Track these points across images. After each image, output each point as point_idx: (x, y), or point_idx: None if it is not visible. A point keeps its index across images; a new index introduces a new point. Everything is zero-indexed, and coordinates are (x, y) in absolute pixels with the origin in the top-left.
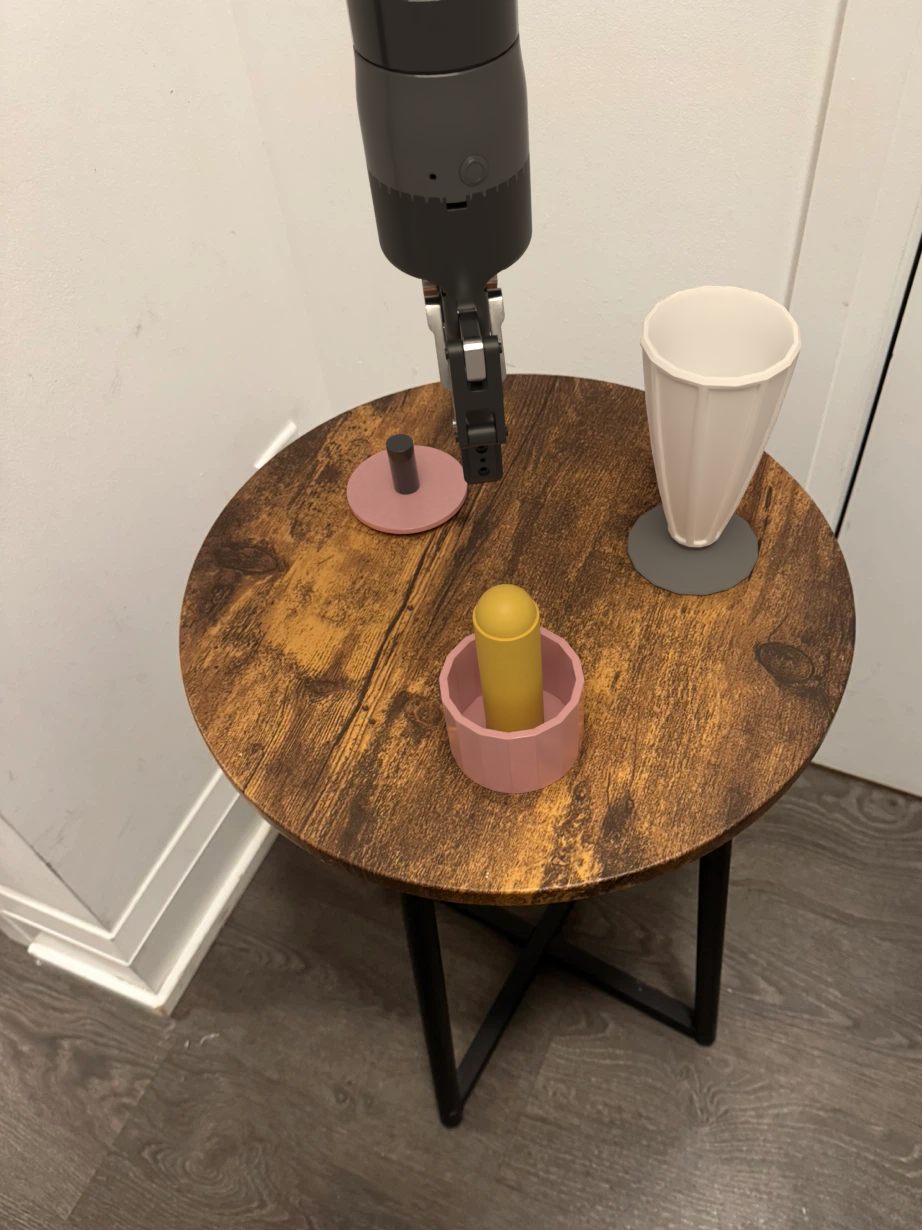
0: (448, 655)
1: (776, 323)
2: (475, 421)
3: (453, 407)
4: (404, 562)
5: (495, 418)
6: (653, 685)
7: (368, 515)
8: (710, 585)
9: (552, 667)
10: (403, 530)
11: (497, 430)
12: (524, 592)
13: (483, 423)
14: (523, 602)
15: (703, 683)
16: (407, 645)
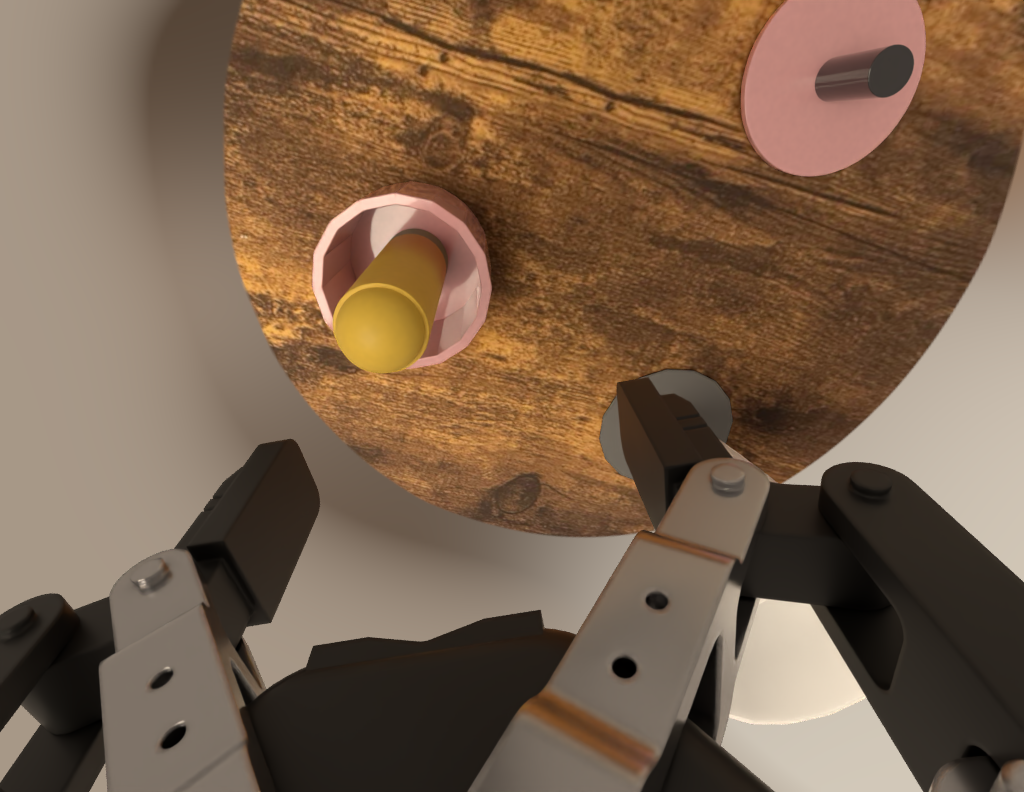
0: (432, 203)
1: (813, 691)
2: (60, 688)
3: (186, 587)
4: (693, 88)
5: (10, 780)
6: (490, 391)
7: (786, 17)
8: (609, 444)
9: (467, 314)
10: (744, 83)
11: (32, 741)
12: (395, 366)
13: (45, 714)
14: (371, 368)
15: (493, 433)
16: (547, 109)
